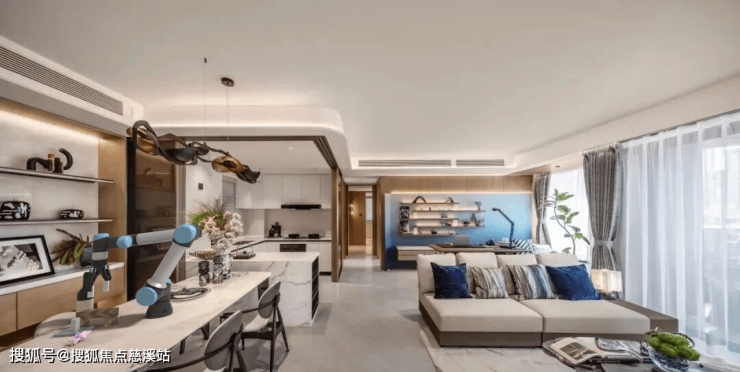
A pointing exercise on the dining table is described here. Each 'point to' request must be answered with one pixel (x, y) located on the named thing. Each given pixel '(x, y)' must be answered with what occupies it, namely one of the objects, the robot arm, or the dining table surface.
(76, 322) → the fulcrum
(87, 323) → the board
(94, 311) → the walnut beam
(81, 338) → the rabbit figure
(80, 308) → the wine bottle
